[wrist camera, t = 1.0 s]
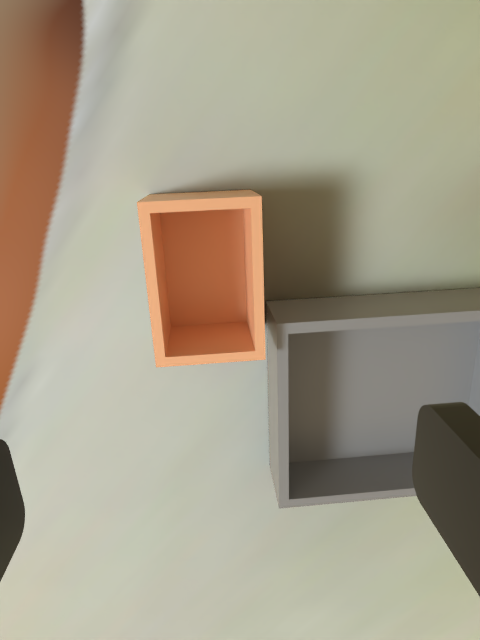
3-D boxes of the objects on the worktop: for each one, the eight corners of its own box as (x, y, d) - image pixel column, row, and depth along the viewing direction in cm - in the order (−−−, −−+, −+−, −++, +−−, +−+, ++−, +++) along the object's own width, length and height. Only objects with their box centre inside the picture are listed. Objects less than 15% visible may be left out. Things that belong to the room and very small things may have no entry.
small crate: (149, 194, 24) (136, 202, 19) (250, 189, 24) (261, 196, 20) (164, 331, 27) (156, 367, 22) (254, 325, 27) (265, 359, 22)
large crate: (266, 301, 27) (276, 324, 23) (489, 287, 28) (534, 306, 24) (269, 466, 31) (279, 508, 27) (464, 449, 32) (499, 488, 28)
